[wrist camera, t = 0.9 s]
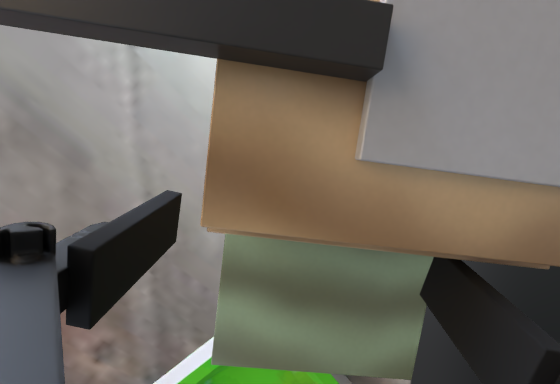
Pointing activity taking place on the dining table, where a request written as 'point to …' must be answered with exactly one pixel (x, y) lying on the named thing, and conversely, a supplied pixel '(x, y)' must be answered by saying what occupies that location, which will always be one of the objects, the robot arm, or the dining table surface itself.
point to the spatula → (374, 66)
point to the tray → (238, 373)
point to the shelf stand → (340, 228)
